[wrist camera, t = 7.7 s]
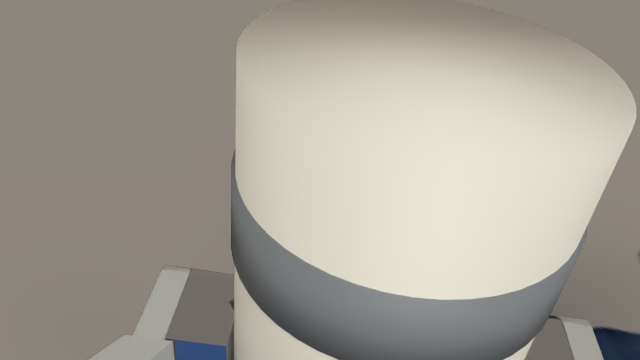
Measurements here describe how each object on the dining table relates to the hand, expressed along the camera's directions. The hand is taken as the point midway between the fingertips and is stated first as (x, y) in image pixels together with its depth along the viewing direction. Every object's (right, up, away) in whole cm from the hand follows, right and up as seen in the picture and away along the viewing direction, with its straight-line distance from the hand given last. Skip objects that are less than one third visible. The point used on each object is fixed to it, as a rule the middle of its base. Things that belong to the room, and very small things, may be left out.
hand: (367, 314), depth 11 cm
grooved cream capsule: (-1, -7, +4) cm, 8 cm away
